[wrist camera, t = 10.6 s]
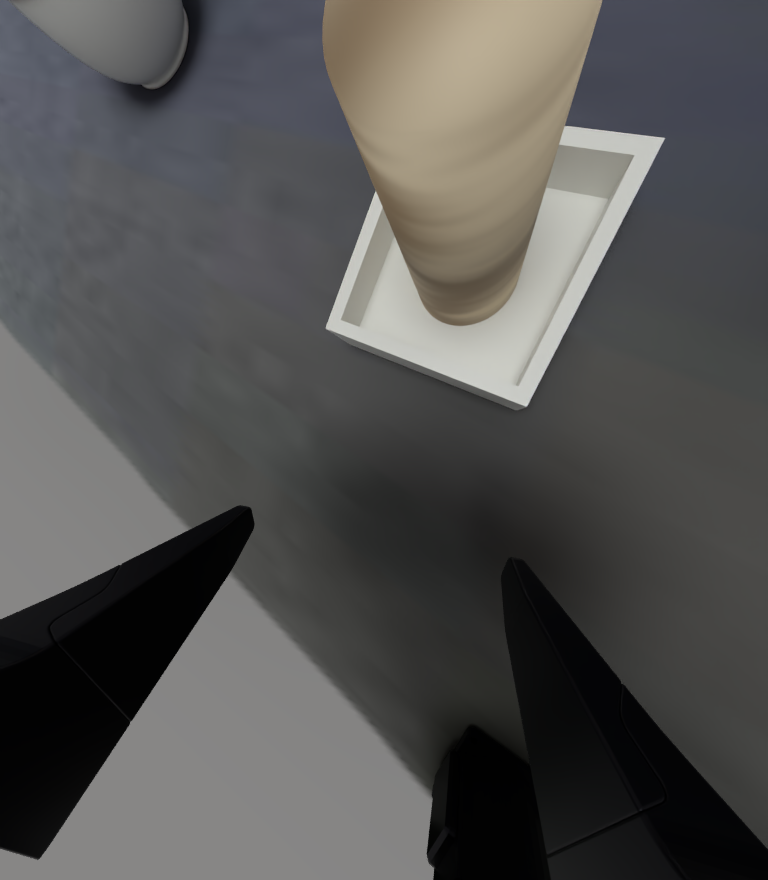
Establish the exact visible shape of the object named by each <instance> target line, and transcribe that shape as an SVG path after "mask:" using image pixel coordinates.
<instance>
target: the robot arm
mask: <svg viewBox="0 0 768 880" xmlns="http://www.w3.org/2000/svg"><path fill="white" fill-rule="evenodd" d="M253 529H254V519H253V514H252V510H251V508H250V507H247V506H241V505H239V506H236V507H234V508H232V509H230V510H228V511H226V512H224V513H222V514H220V515H218V516H216V517H214V518H212V519H210V520H208V521H206V522H204V523H202V524H200V525H198V526H196V527H194V528H192V529H190V530H188V531H186V532H184V533H182V534H180V535H178V536H176V537H174V538H172V539H171V540H168V541H166V542H164V543H162V544H160V545H158V546H156V547H154V548H152V549H150V550H148V551H146V552H144V553H142V554H140V555H139V556H136V557H134V558H132V559H130V560H128V561H126V562H124V563H122V565H118V566H116V567H114V568H112V569H110V570H108V571H106V572H104V573H102V574H100V575H98V576H96V577H94V578H92V579H90V580H88V581H86V582H83V583H81V584H79V585H77V586H75V587H73V588H70V589H68V590H66V591H64V592H62V593H59V594H57V595H55V596H53V597H51V598H48V599H46V600H44V601H41V602H39V603H37V604H35V605H32V606H30V607H28V608H25V609H23V610H21V611H19V612H16V613H14V614H12V615H10V616H7V617H5V618H3V619H0V849H3V850H6V851H10V852H13V853H16V854H20V855H23V856H27V857H30V858H34V859H37V860H38V859H40V857H41V856H42V855H43V853H44V852H45V851H46V849H47V848H48V847H49V845H50V844H51V842H52V841H53V839H54V838H55V836H56V835H57V833H58V832H59V830H60V829H61V827H62V826H63V824H64V823H65V821H66V820H67V818H68V817H69V815H70V813H71V812H72V811H73V809H74V808H75V806H76V804H77V803H78V802H79V800H80V798H81V797H82V795H83V794H84V792H85V791H86V789H87V788H88V786H89V784H90V783H91V782H92V780H93V779H94V777H95V776H96V774H97V773H98V771H99V770H100V768H101V767H102V765H103V764H104V762H105V761H106V759H107V758H108V756H109V755H110V753H111V752H112V750H113V749H114V747H115V746H116V744H117V743H118V741H119V740H120V738H121V737H122V735H123V734H124V732H125V731H126V729H127V727H128V726H129V724H130V722H131V721H132V720H133V718H134V717H135V715H136V714H137V712H138V711H139V709H140V708H141V706H142V704H143V703H144V701H145V700H146V699H147V697H148V696H149V694H150V693H151V691H152V690H153V688H154V686H155V685H156V683H157V682H158V680H159V679H160V677H161V676H162V674H163V673H164V671H165V670H166V668H167V667H168V665H169V664H170V662H171V661H172V659H173V658H174V656H175V655H176V653H177V652H178V650H179V649H180V647H181V646H182V644H183V643H184V641H185V640H186V638H187V637H188V635H189V633H190V632H191V631H192V629H193V628H194V626H195V625H196V623H197V622H198V620H199V619H200V617H201V615H202V614H203V612H204V611H205V610H206V608H207V606H208V605H209V603H210V602H211V600H212V599H213V597H214V596H215V594H216V593H217V591H218V590H219V588H220V586H221V585H222V584H223V582H224V581H225V579H226V578H227V576H228V575H229V573H230V572H231V570H232V568H233V567H234V565H235V563H236V561H237V559H238V557H239V556H240V554H241V552H242V550H243V548H244V546H245V544H246V542H247V541H248V539H249V537H250V535H251V533H252V531H253ZM501 584H502V597H503V610H504V622H505V632H506V638H507V644H508V649H509V654H510V660H511V665H512V671H513V676H514V681H515V687H516V692H517V698H518V703H519V708H520V714H521V719H522V724H523V730H524V735H525V741H526V746H527V751H528V757H529V762H530V767H529V766H527V765H526V764H525V763H523V762H522V761H521V760H519V759H518V758H516V757H515V756H514V755H512V754H511V753H509V752H508V751H507V750H505V749H504V748H503V747H501V746H500V745H498V744H497V743H496V742H494V741H493V740H492V739H490V738H489V737H487V736H486V735H485V734H483V733H482V732H481V731H479V730H478V729H476V728H474V727H470V728H468V729H467V730H466V732H465V734H464V735H463V737H462V739H461V740H460V742H459V744H458V745H457V747H456V749H455V750H454V749H453V750H451V751H450V752H449V753H448V755H447V757H446V758H445V760H444V762H443V763H442V765H441V767H440V768H439V770H438V772H437V773H436V776H435V783H434V785H433V790H432V797H433V801H432V810H431V819H430V829H429V838H428V847H427V858H428V862H429V864H430V865H431V866H432V867H434V878H433V880H768V849H767V848H766V847H765V846H764V845H763V843H762V842H761V841H760V840H759V839H758V838H757V837H756V836H755V835H754V833H753V832H752V831H751V830H750V829H749V828H748V827H747V826H746V825H745V823H744V822H743V821H742V820H741V819H740V818H739V817H738V816H737V815H736V813H735V812H734V811H733V810H732V809H731V808H730V807H729V806H728V805H727V803H726V802H725V801H724V800H723V799H722V798H721V797H720V796H719V794H718V793H717V792H716V791H715V790H714V789H713V788H712V787H711V786H710V784H709V783H708V782H707V781H706V780H705V779H704V778H703V777H702V776H701V774H700V773H699V772H698V771H697V770H696V769H695V768H694V767H693V766H692V764H691V763H690V762H689V761H688V760H687V759H686V758H685V757H684V755H683V754H682V753H681V752H680V751H679V750H678V749H677V747H676V746H675V745H674V744H673V743H672V742H671V741H670V739H669V738H668V737H667V736H666V735H665V734H664V733H663V731H662V730H661V729H660V728H659V727H658V725H657V724H656V723H655V722H654V721H653V719H652V718H651V717H650V716H649V715H648V713H647V712H646V711H645V710H644V709H643V707H642V706H641V705H640V704H639V703H638V701H637V700H636V699H635V698H634V696H633V695H632V694H631V693H630V691H629V690H628V689H627V688H626V686H625V685H624V684H621V681H620V679H619V678H618V677H617V675H616V674H615V673H614V672H613V671H612V669H611V668H610V667H609V666H608V664H607V663H606V662H605V661H604V659H603V658H602V657H601V656H600V654H599V653H598V652H597V651H596V649H595V648H594V647H593V646H592V644H591V643H590V642H589V641H588V639H587V638H586V637H585V636H584V635H583V633H582V632H581V631H580V630H579V628H578V627H577V626H576V625H575V623H574V622H573V621H572V620H571V618H570V617H569V616H568V615H567V613H566V612H565V611H564V610H563V608H562V607H561V606H560V605H559V603H558V602H557V601H556V600H555V599H554V597H553V596H552V595H551V594H550V592H549V591H548V590H547V589H546V587H545V586H544V585H543V584H542V582H541V581H540V580H539V579H538V577H537V576H536V575H535V574H534V572H533V571H532V570H531V569H530V567H529V566H528V565H527V564H526V563H525V561H523V560H522V559H518V558H512V557H510V558H509V559H508V560H507V562H506V565H505V567H504V570H503V572H502V576H501ZM473 737H475V738H473Z"/></svg>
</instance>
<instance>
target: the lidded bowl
mask: <svg viewBox="0 0 768 880" xmlns="http://www.w3.org/2000/svg"><path fill="white" fill-rule="evenodd" d="M8 1H9V2H10V3H11V4H12V5H13V6H14V7H15V8H16V9H17V10H18V11H20V12H21V13H22V14H23V15H24V16H25V17H26V18H27V19H28V20H29V21H31V22H32V23H33V24H34V25H35V26H36V27H37V28H39V29H40V30H41V31H42V32H43V33H44V34H45V35H47V36H48V37H49V38H50V39H51V40H53V41H54V42H55V43H56V44H58V45H59V46H60V47H61V48H63V49H64V50H65V51H67V52H68V53H69V54H71V55H72V56H73V57H75V58H76V59H78V60H79V61H80V62H82V63H83V64H85V65H86V66H88V67H90V68H91V69H93V70H95V71H97V72H99V73H100V74H102V75H104V76H106V77H108V78H111V79H113V80H116V81H119V82H124V83H128V84H137V85H139V84H141V85H142V86H143V87H145V88H147V89H157V88H160V87H162V86H164V85H165V84H166V83H167V82H168V81H169V80H170V79H171V78H172V77H173V76H174V74H175V73H176V72H177V70H178V68H179V66H180V64H181V62H182V60H183V57H184V55H185V51H186V48H187V43H188V35H189V24H188V17H187V14H186V11H185V9H184V7H183V4H182V0H8Z"/></svg>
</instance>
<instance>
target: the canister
mask: <svg viewBox="0 0 768 880" xmlns="http://www.w3.org/2000/svg"><path fill="white" fill-rule="evenodd" d="M601 4H602V0H326V2H325V9H324V17H323V51H324V58H325V63H326V68H327V72H328V75H329V77H330V80H331V83H332V86H333V88H334V91H335V93H336V95H337V98H338V100H339V103H340V105H341V107H342V110H343V112H344V115H345V117H346V120H347V122H348V124H349V127H350V129H351V132H352V134H353V137H354V139H355V141H356V144H357V146H358V149H359V151H360V154H361V156H362V158H363V161H364V163H365V166H366V168H367V171H368V173H369V175H370V178H371V180H372V183H373V185H374V187H375V190H376V192H377V195H378V197H379V200H380V202H381V204H382V207H383V209H384V212H385V214H386V217H387V219H388V221H389V224H390V226H391V229H392V231H393V234H394V236H395V238H396V241H397V243H398V246H399V248H400V251H401V253H402V255H403V258H404V260H405V263H406V265H407V267H408V270H409V272H410V275H411V277H412V280H413V282H414V284H415V287H416V289H417V292H418V294H419V297H420V299H421V301H422V303H423V305H424V307H425V309H426V310H427V311H428V312H429V313H430V314H431V315H432V316H433V317H434V318H435V319H437V320H439V321H441V322H443V323H446V324H449V325H454V326H467V325H472V324H476V323H479V322H481V321H483V320H486V319H488V318H489V317H491V316H492V315H494V314H495V313H496V312H498V311H499V310H500V309H501V308H502V307H503V306H504V305H505V304H506V302H507V301H508V300H509V298H510V297H511V295H512V294H513V292H514V290H515V288H516V285H517V282H518V279H519V276H520V272H521V269H522V266H523V262H524V259H525V256H526V252H527V249H528V246H529V242H530V239H531V236H532V232H533V229H534V226H535V222H536V219H537V216H538V213H539V209H540V206H541V203H542V199H543V196H544V193H545V189H546V186H547V183H548V179H549V176H550V173H551V169H552V166H553V163H554V159H555V156H556V153H557V150H558V146H559V143H560V140H561V136H562V133H563V130H564V126H565V123H566V120H567V116H568V113H569V110H570V106H571V103H572V100H573V96H574V93H575V90H576V87H577V83H578V80H579V77H580V73H581V70H582V67H583V63H584V60H585V57H586V53H587V50H588V47H589V43H590V40H591V37H592V34H593V30H594V27H595V24H596V20H597V17H598V14H599V10H600V7H601Z"/></svg>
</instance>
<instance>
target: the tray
mask: <svg viewBox="0 0 768 880" xmlns="http://www.w3.org/2000/svg"><path fill="white" fill-rule="evenodd" d="M664 139H665V138H660V137H652V136H644V135H636V134H627V133H619V132H611V131H603V130H595V129H586V128H578V127H570V126H564V130H563V133H562V136H561V140H560V143H559V146H558V150H557V153H556V156H555V159H554V163H553V166H552V169H551V173H550V176H549V179H548V183H547V186H546V189H545V193H544V196H543V199H542V203H541V206H540V209H539V213H538V216H537V219H536V222H535V226H534V229H533V232H532V236H531V239H530V242H529V246H528V249H527V252H526V256H525V259H524V262H523V266H522V269H521V272H520V276H519V279H518V282H517V285H516V288H515V290H514V292H513V294H512V295H511V297H510V298H509V300H508V301H507V302H506V304H505V305H504V306H503V307H502V308H501V309H500V310H499V311H498V312H496V313H495V314H494V315H492V316H491V317H489V318H488V319H486V320H483V321H481V322H479V323H476V324H472V325H467V326H454V325H449V324H446V323H443V322H441V321H439V320H437V319H435V318H434V317H433V316H432V315H431V314H430V313H429V312H428V311H427V310H426V309H425V307H424V305H423V303H422V301H421V299H420V297H419V294H418V292H417V289H416V287H415V284H414V282H413V280H412V277H411V275H410V272H409V270H408V267H407V265H406V263H405V260H404V258H403V255H402V253H401V251H400V248H399V246H398V243H397V241H396V238H395V236H394V234H393V231H392V229H391V226H390V224H389V221H388V219H387V217H386V214H385V212H384V209H383V207H382V204H381V202H380V200H379V197H378V195H377V192H375V194H374V197H373V200H372V203H371V205H370V208H369V211H368V214H367V216H366V219H365V222H364V225H363V227H362V230H361V233H360V235H359V238H358V241H357V244H356V246H355V249H354V252H353V255H352V257H351V260H350V263H349V266H348V268H347V271H346V274H345V277H344V279H343V282H342V285H341V287H340V290H339V293H338V296H337V298H336V301H335V304H334V307H333V309H332V312H331V315H330V318H329V320H328V323H327V326H326V329H327V330H329V331H330V332H332V333H333V334H335V335H336V336H338V337H339V338H341V339H342V340H344V341H345V342H347V343H348V344H350V345H352V346H355V347H357V348H360V349H362V350H365V351H367V352H370V353H372V354H375V355H377V356H380V357H382V358H385V359H387V360H390V361H392V362H395V363H397V364H400V365H403V366H405V367H408V368H410V369H413V370H415V371H418V372H420V373H423V374H425V375H428V376H430V377H433V378H435V379H438V380H440V381H443V382H445V383H448V384H450V385H453V386H455V387H458V388H460V389H463V390H465V391H468V392H470V393H473V394H475V395H478V396H480V397H483V398H486V399H488V400H491V401H493V402H496V403H498V404H501V405H503V406H506V407H508V408H511V409H513V410H516V411H518V410H520V409H523V408H525V407H527V405H528V404H529V402H530V400H531V398H532V396H533V394H534V392H535V390H536V388H537V386H538V384H539V382H540V380H541V378H542V376H543V374H544V372H545V370H546V368H547V367H548V365H549V363H550V361H551V359H552V357H553V355H554V353H555V351H556V349H557V347H558V345H559V343H560V341H561V339H562V337H563V335H564V333H565V332H566V330H567V328H568V326H569V324H570V322H571V320H572V318H573V316H574V314H575V312H576V310H577V308H578V306H579V304H580V302H581V300H582V298H583V297H584V295H585V293H586V291H587V289H588V287H589V285H590V283H591V281H592V279H593V277H594V275H595V273H596V271H597V269H598V267H599V265H600V263H601V262H602V260H603V258H604V256H605V254H606V252H607V250H608V248H609V246H610V244H611V242H612V240H613V238H614V236H615V234H616V232H617V230H618V228H619V227H620V225H621V223H622V221H623V219H624V217H625V215H626V213H627V211H628V209H629V207H630V205H631V203H632V201H633V199H634V197H635V195H636V193H637V191H638V190H639V188H640V186H641V184H642V182H643V180H644V178H645V176H646V174H647V172H648V170H649V168H650V166H651V164H652V162H653V160H654V158H655V156H656V155H657V153H658V151H659V149H660V147H661V145H662V143H663V141H664Z"/></svg>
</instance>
